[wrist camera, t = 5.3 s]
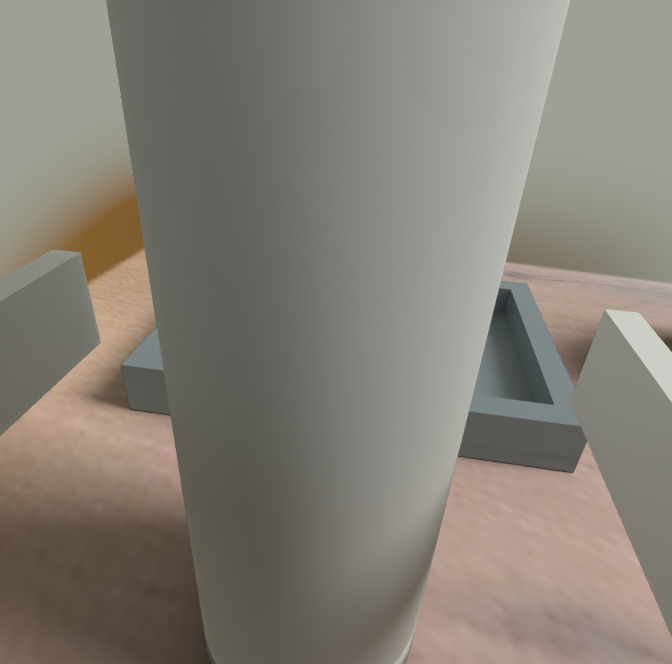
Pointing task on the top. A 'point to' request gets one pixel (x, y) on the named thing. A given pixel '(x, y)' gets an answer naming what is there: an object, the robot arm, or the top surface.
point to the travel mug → (325, 287)
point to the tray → (488, 397)
